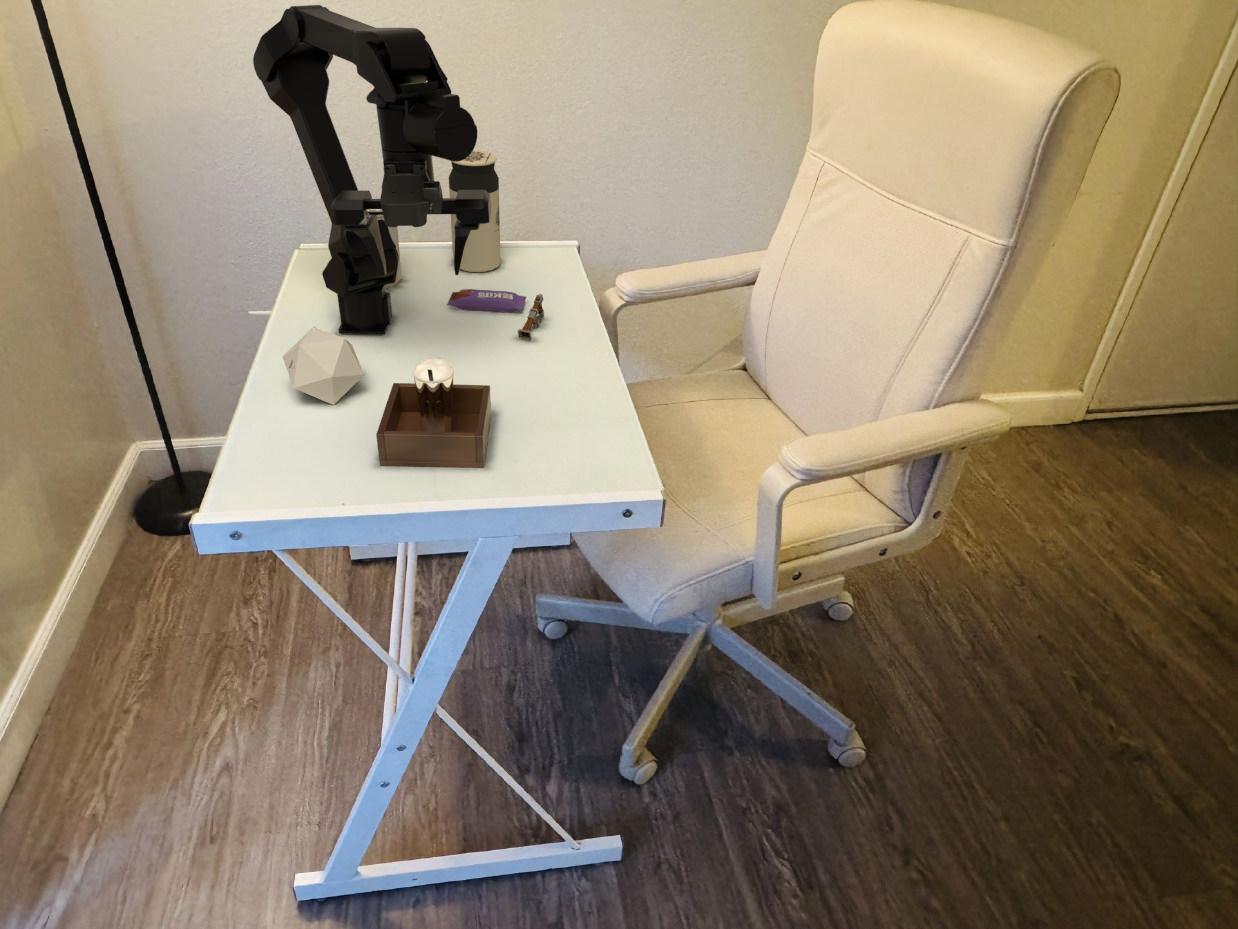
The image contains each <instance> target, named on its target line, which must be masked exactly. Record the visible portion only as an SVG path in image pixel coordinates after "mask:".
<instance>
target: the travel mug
mask: <svg viewBox="0 0 1238 929" xmlns="http://www.w3.org/2000/svg"><path fill="white" fill-rule="evenodd" d="M497 160H498V158H497V156H496V155H495V154H493V153H491V152H488V151H482V150H473V151H472V153H471V154H470V155H469V156H468V157H467V158H466V159H464V160H462V161H458V162H456V161H450V163H451V168H452V169H451V171H450V173H449V175H448V190H449V191H448V192H449V198H456V196H457V193H458V190H486V191H487V192H488V193H489V194H490V197H491V216H490V221H489V223H485V224H480V228H479V229H478V230H471V231H470V234H469V236H468V239H467V241H466V244H465V248H464V252H463V256H462V261H461V265H460V270H461V271H464V272H469V273H484V272H489V271H493V270H494V269H497V268H499V266H501V225H500V224H501V221H500V220H501V219H500V218H501V216H500V177H499V175H498V173H497V172H496V170H495V166H496V162H497ZM456 221H457V218H456V214H450V226H451V246H452V263H453V265H454V251H455V224H456Z"/></svg>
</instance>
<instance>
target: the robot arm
mask: <svg viewBox="0 0 1238 929" xmlns="http://www.w3.org/2000/svg"><path fill="white" fill-rule="evenodd" d="M280 18H281V19H280V20H279V21H278V22H276V24H274V25H273V26H272V27H271V28H269V29H268V30H267V31H266V32H264V33H263V34H262V35H261V36H260V39H259V41H258V44H257V46H256V49H255V50H254V53H253V57H252V64H253V68H254V72H255V74H256V76H257V78H258V79H259V80H260V81H261V83H262V86H263V88H264V89H265V91H266V93H267V95H268V98H269V99H270V100H271V101H272V103H274V104H275V105H276V106H277V107H278V108H279V109H280V110H282V112H284V113H285V114H286V115H287V116H288V117H289V118H290V120H291V123H292V125H293V128H294V130H295V133H296V136H297V138H298V141H299V143H300V145H301V149H302V151H303V153H304V156H305V158H306V161H307V164H308V166H309V169H310V171H311V173H312V176H313V179H314V181H315V184H316V186H317V189H318V192H319V195H320V196H321V199H322V202H323V204H324V207H325V209H326V212H327V214H328V217H329V220H330V223H331V228H330V232H329V238H328V243H327V247H328V251H329V254H330V257H331V258H330V259H329V261H328V263H327V264H326V266H325V267H324V269H323V270H322V272H321V275H322V278H323V281H324V285H325V288H327V289H328V290H329V291H331V292H333V293H334V294H336V295H337V302H338V310H339V317H340V318H339V319H340V326H339V327H338V329H337V330H338V333H339V334H340V335H341V334H342V335H373V336H375V335H379V336H383V335H385V334H386V332H387V330H388V328H389V326H390V325H391V323H392V321H393V307H392V306H393V305H392V296H391V293H390V292H389V291H387V288H386V285H387V284H393V283H395V281H396V275H397V268H398V261H399V255H398V252H397V249H396V245H395V243H394V242H393V240H392V238H391V235H390V232H389V229H388V227H397V228H398V227H413V228H422V227H424V226H425V225H426V224H427V222H428V215H451V214H456V218H457V221H456V224H455V251H454V264H453V267H454V268H453V269H454V275H455V276H459V274H460V270H461V269H460V265H461V261H462V256H463V252H464V248H465V244H466V241H467V239H468V236H469V234H470V231H471V230H478V229H479V228H480V224H485V223H489V221H490V216H491V197H490V194H489V193H488V192H487V191H486V190H458V193H457V196H456V198H450V197H445V198H444V196H443V188H442V185H441V182H440V181H439V180H435V175H434V167H433V166H434V164H433V157H436V158H438V159H443V160H446V161H450V162H451V161H456V162H458V161H462V160H464V159H466V158H467V157H468V156H469V155H470V154H471V153H472V151H475V150H474V149H475V147H476V145H477V141H478V126H477V125H476V123H475V119H474V118H473V116H472V114H471V113H470V112H469V111H468V110H467V109H465V108H463V107H462V106H461V100H460V95H459V94H455V93H452V89H451V87H450V85H449V82H448V77H447V76H446V73H445V71H443V69H442V68H441V66H440V64H439V61H438V60H437V57H436V55H435V53H434V50H433V49H432V46H431V45H430V43H429V41H428V40H426V39H427V38H426V37H427V36H426V35H425V34H424V33H423V32H422V31H421V30H420V29H419V28H416V27H375V26H372V25H370V24H367V23H364V22H361V21H359V20H356V19H353V18H351V17H349V16H346V15H343V14H340V13H337V12H335V11H332V10H330V9H329V8H328V7H326V6H323V5H321V4H309V5H308V4H306V5H291V6H289V8H286V9H284V11H283V13H282V15H281V17H280ZM334 56H335V57H337V58H340V59H342V60H345V61H347V62H349V63H352V64H353V65H355V66H356V74H358V76H360V77H361V78H362V79H364V80H365V81H366V82H367V83H369V84H370V85H372V86H373V89H372V90H371V91H370V92H368V94H367V96H366V102H367V103H369V104H373V105H375V107H376V114H377V115H376V116H377V123H378V129H379V131H378V132H379V138H380V147H381V153H382V154H381V155H382V164H383V178H382V183H381V193H380V198H373V197H372V193H371V191H370V190H359V189H358V188H359V187H358V185H357V183H356V180H355V178H354V175H353V172H352V170H351V168H350V164H349V162H348V159H347V157H346V155H345V151H344V149H343V147H342V144H341V141H340V139H339V136H338V133H337V131H336V129H335V126H334V123H333V120H332V117H331V116H330V112H329V110H328V107H327V99H328V93H329V86H330V78H329V74H328V68H329V66H330V65H331V62H332V60H333V59H334ZM377 215H383V217H384V220H383V219H379V220H377Z"/></svg>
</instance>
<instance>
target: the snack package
mask: <svg viewBox="0 0 1238 929" xmlns="http://www.w3.org/2000/svg"><path fill="white" fill-rule="evenodd" d="M526 299H527V296H525V295H519V294H517V293H515V292H512V291H506V290H490V289H473V288H464V289H461V290H459V291H452V293H451V295H450V297H449V300H448V302H447V306H450V307H455V308H456V309H460V310H464V311H477V312H491V313H492V312H493V313H512V312H515V311H517V310H518V311H519V310H524V306H525V303H526Z"/></svg>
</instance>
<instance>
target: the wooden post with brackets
mask: <svg viewBox="0 0 1238 929" xmlns="http://www.w3.org/2000/svg"><path fill="white" fill-rule="evenodd" d="M543 301H544V295H543V294H542V293H539V294H536V296H535V298H534V300H533V305H532V308H530V310H529V311H528V312H529V313H528V315H527V316H526V317H527V318H526V319H527V320H526V321H525V323H524V325H523V327H522V328H518V330H517V335H518V338H519V340H524V341H530V342H532V335H531V332H532V328H533V329H537V328H540V324H542V319H544V318H545V310H544V308H543Z"/></svg>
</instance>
